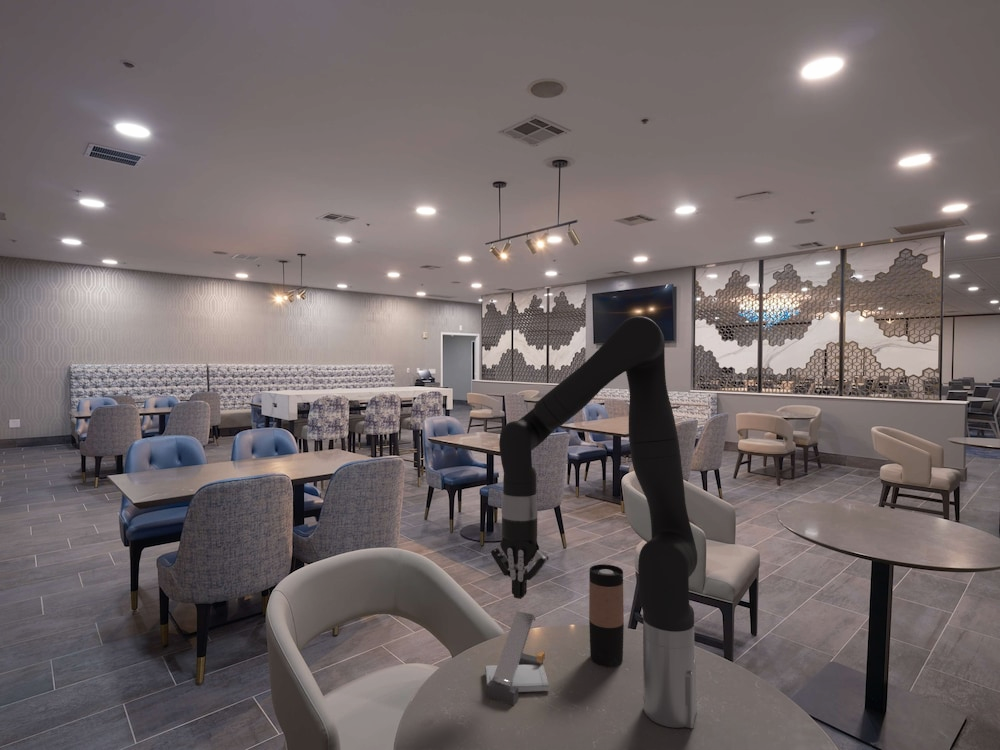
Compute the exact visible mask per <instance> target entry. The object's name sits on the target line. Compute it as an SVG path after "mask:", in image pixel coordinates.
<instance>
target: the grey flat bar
mask: <svg viewBox="0 0 1000 750" xmlns="http://www.w3.org/2000/svg"><path fill="white" fill-rule="evenodd" d="M533 621H536V617H535V615H534V613H533V614H531V613H529V612H528V613H527V612H523V611H519V610H516V612H515V615H514V617H513V620H512V623H511V626H510V629H509V630H508V631H509V632H508V634H507V637H506V641H505V643H504V646H503V649H502V651H501V654H500V657H499V660H498V663H497V664H496V666H497V668H496V671H495V674H494V677H493V678H492V682H494V683H498V684H501V685H505V686H508V687H512V684H513V680H514V677H515V674H516V671H517V668H518V665H519V662H520V658H521V655H522V653H523V652H524V648H525V645H526V642H527V640H528V636H529V634H530V630H531V627H532V624H533Z"/></svg>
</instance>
